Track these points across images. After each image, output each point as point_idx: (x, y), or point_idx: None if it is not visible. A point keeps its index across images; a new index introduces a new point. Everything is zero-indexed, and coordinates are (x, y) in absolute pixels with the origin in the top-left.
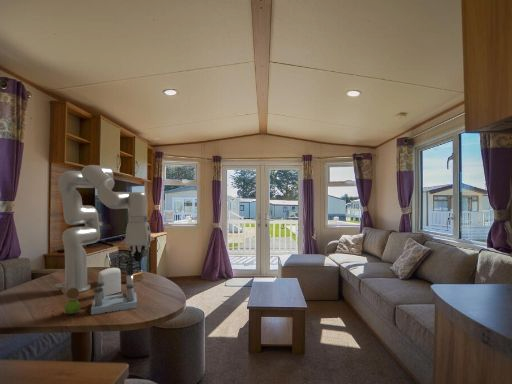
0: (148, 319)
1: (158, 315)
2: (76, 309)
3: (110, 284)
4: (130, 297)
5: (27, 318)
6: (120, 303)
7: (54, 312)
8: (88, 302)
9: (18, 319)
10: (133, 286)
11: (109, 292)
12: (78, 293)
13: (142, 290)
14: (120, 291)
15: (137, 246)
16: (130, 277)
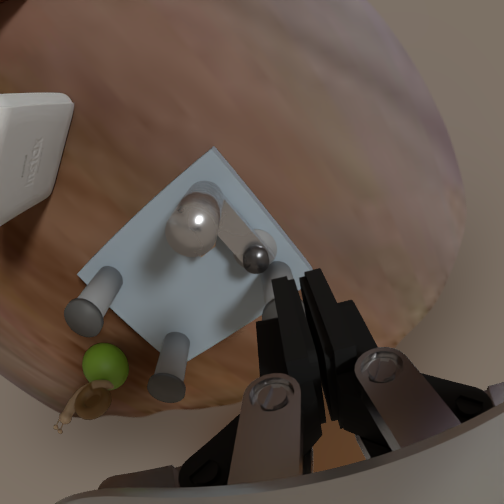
0: (399, 333)
1: (419, 302)
2: (128, 368)
3: (33, 168)
4: None
5: (46, 382)
6: (252, 309)
7: (56, 348)
8: (56, 258)
9: (37, 386)
10: None
11: (54, 166)
12: (110, 400)
13: (167, 36)
14: (73, 106)
15: (300, 459)
16: (211, 246)
